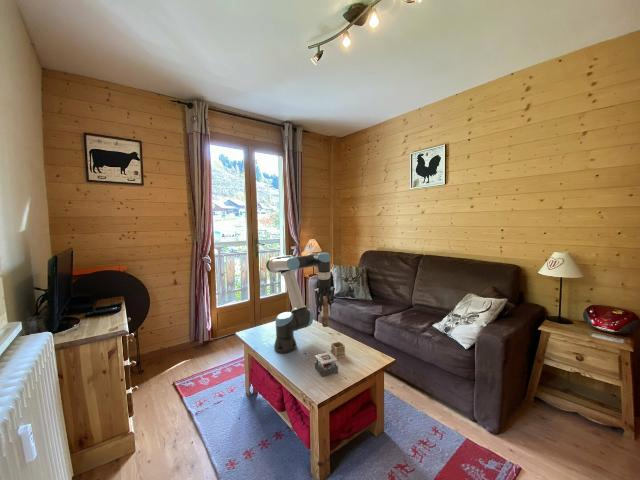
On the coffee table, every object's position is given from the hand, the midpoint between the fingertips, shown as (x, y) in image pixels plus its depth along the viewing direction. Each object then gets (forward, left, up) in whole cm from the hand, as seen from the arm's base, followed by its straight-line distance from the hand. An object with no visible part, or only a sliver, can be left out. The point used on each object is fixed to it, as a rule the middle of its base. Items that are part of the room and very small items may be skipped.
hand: (325, 315), depth 167 cm
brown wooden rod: (0, 0, -7) cm, 7 cm away
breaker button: (+11, -5, -24) cm, 27 cm away
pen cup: (-1, +9, -28) cm, 30 cm away
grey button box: (+11, -5, -28) cm, 31 cm away
